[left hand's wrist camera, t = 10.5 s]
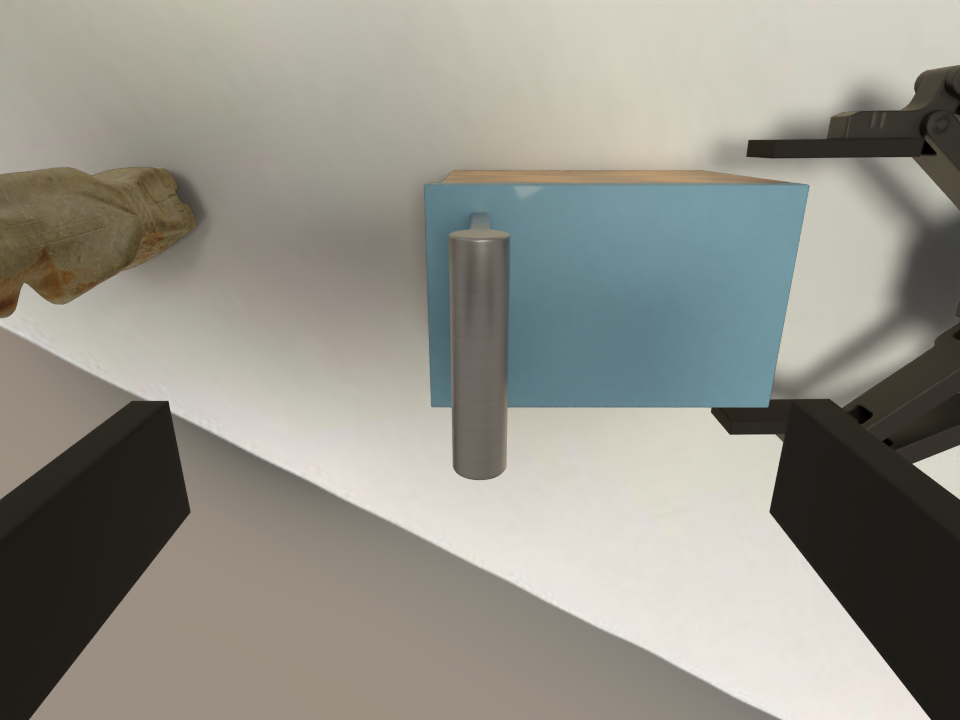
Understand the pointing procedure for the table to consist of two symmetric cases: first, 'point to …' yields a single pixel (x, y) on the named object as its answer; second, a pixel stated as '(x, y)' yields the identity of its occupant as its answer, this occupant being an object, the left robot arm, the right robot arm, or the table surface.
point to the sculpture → (82, 228)
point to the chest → (596, 177)
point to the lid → (602, 299)
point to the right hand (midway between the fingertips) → (737, 293)
